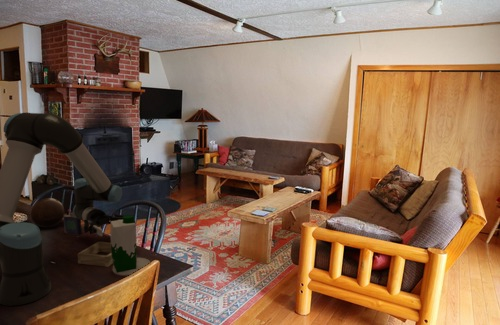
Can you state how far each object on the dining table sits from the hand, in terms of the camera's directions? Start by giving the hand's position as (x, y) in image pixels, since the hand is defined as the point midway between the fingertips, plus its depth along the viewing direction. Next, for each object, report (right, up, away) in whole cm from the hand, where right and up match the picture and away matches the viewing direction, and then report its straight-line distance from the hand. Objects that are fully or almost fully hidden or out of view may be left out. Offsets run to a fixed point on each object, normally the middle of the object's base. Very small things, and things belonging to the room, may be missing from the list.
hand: (118, 228), depth 144 cm
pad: (+7, -15, -4) cm, 17 cm away
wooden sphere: (-51, -7, +40) cm, 65 cm away
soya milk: (+5, -14, -6) cm, 16 cm away
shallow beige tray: (-8, -13, +4) cm, 16 cm away
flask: (-34, -9, +31) cm, 47 cm away
